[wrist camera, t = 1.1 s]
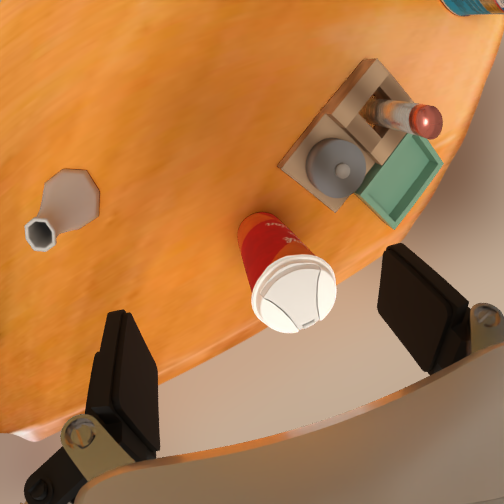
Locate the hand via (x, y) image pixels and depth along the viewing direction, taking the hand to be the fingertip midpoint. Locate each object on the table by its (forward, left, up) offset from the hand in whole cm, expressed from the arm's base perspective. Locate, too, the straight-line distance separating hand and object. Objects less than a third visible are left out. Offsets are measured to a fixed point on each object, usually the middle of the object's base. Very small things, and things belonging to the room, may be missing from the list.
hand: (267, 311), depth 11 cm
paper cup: (+3, +10, -26) cm, 28 cm away
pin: (-17, +11, -25) cm, 32 cm away
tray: (-14, +20, -25) cm, 35 cm away
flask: (+11, -11, -26) cm, 30 cm away
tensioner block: (-13, +11, -25) cm, 30 cm away
